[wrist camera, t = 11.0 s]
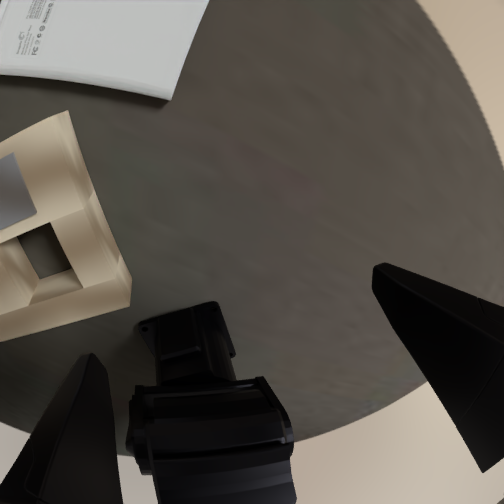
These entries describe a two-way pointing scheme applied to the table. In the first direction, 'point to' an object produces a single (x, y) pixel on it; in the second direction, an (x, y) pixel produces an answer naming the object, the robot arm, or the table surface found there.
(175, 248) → the table surface
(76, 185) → the socket block
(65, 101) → the table surface
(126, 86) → the external hard drive
